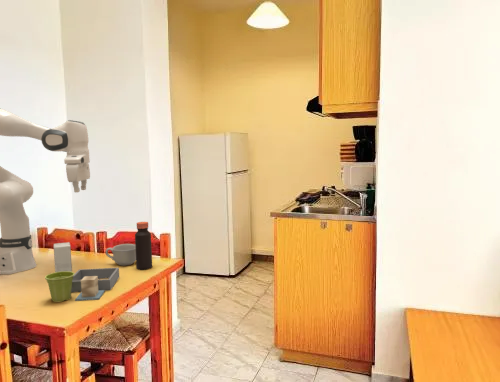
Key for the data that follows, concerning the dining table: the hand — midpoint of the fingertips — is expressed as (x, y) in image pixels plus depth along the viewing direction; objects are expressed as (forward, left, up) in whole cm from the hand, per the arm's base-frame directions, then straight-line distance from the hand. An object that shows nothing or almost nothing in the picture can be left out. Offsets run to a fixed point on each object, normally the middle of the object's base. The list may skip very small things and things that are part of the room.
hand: (80, 191), depth 180 cm
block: (+12, -36, -34) cm, 51 cm away
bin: (+10, -23, -34) cm, 42 cm away
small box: (-6, -9, -34) cm, 36 cm away
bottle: (+26, -3, -34) cm, 43 cm away
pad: (+12, -36, -34) cm, 51 cm away
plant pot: (+2, -37, -34) cm, 51 cm away
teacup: (+15, +5, -34) cm, 38 cm away
